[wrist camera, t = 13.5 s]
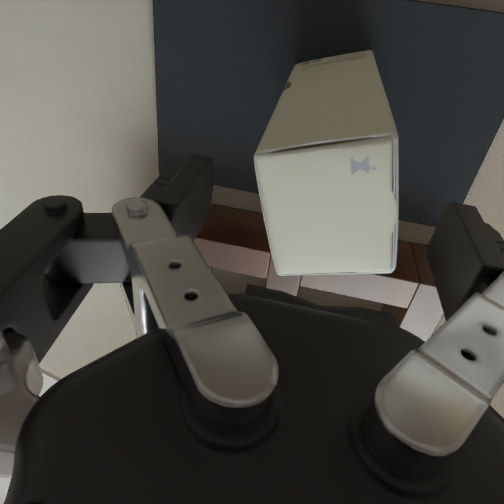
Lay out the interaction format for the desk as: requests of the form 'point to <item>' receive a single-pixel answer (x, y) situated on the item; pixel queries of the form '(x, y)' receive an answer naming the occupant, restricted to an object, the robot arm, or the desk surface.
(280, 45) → the mat
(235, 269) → the rack
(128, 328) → the desk surface
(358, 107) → the box
